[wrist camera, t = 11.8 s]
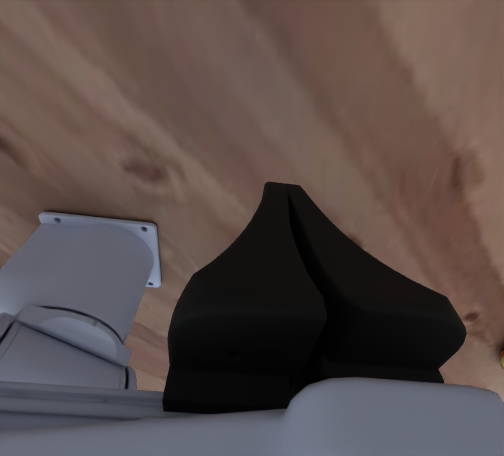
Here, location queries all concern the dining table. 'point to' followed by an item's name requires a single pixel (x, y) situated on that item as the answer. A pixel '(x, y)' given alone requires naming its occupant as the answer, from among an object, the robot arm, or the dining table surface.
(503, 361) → the cheeseburger
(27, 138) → the dining table surface
